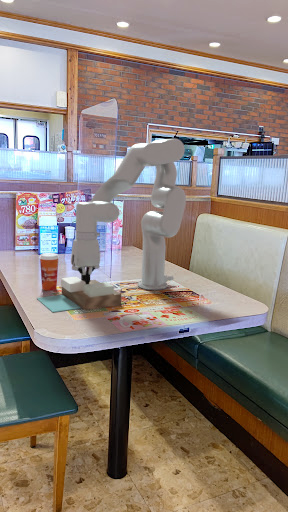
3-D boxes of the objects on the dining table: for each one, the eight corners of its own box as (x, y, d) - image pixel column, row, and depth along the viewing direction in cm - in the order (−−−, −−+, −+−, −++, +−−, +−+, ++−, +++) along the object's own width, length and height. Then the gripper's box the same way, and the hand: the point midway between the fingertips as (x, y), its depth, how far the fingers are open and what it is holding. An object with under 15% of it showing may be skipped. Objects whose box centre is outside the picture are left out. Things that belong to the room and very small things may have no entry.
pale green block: (83, 292, 144) (83, 284, 143) (106, 289, 148) (106, 281, 148) (90, 297, 139) (90, 288, 138) (113, 294, 143) (114, 285, 143)
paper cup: (39, 292, 156) (39, 256, 154) (39, 286, 164) (38, 252, 161) (60, 291, 158) (60, 256, 156) (58, 285, 166) (58, 252, 163)
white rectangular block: (76, 284, 154) (76, 276, 154) (85, 290, 147) (85, 282, 146) (61, 286, 151) (61, 278, 151) (69, 292, 144) (69, 284, 143)
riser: (94, 289, 163) (94, 279, 162) (121, 304, 145) (121, 293, 144) (61, 293, 155) (61, 283, 155) (85, 310, 137) (85, 299, 137)
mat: (62, 295, 153) (62, 294, 153) (80, 308, 139) (80, 307, 139) (36, 298, 148) (36, 297, 148) (52, 312, 134) (52, 311, 134)
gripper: (100, 233, 155) (99, 280, 158) (63, 235, 147) (63, 284, 150) (109, 236, 149) (108, 284, 152) (71, 238, 141) (70, 289, 144)
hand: (85, 284), depth 151 cm, fingers closed
